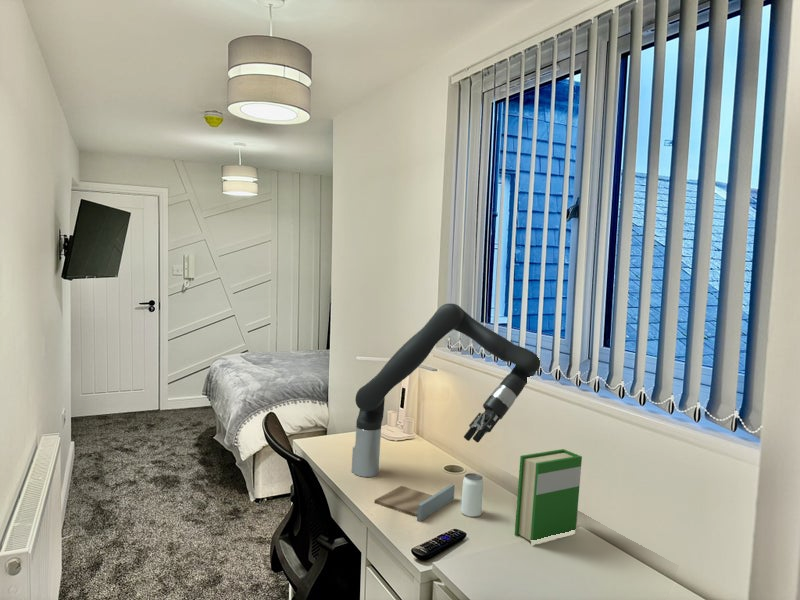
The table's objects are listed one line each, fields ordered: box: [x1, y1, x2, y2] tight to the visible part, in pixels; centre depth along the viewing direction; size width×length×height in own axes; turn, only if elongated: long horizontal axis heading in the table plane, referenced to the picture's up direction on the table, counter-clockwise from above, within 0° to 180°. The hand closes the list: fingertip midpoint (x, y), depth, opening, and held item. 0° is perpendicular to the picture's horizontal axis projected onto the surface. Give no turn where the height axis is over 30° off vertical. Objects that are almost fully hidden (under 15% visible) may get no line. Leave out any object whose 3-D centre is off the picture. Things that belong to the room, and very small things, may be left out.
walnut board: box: [374, 485, 434, 518], centre depth 192 cm, size 16×16×1 cm
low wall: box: [416, 483, 456, 522], centre depth 187 cm, size 1×22×5 cm, turn 147°
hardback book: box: [514, 448, 583, 541], centre depth 173 cm, size 18×7×24 cm, turn 121°
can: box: [461, 472, 484, 518], centre depth 186 cm, size 6×6×12 cm
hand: (470, 439), depth 189 cm, fingers open, 8 cm apart
